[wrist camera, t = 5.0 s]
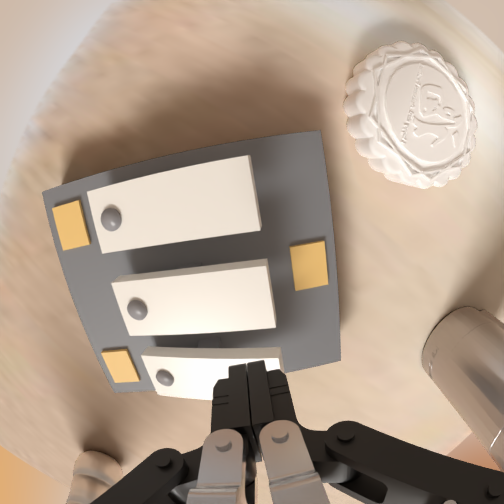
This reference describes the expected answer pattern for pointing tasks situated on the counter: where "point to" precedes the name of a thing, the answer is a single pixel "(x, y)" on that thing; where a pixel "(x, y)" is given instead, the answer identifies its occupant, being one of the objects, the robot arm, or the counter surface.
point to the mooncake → (411, 115)
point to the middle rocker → (197, 299)
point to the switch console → (214, 258)
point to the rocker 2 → (200, 367)
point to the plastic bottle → (93, 477)
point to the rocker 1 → (177, 206)
